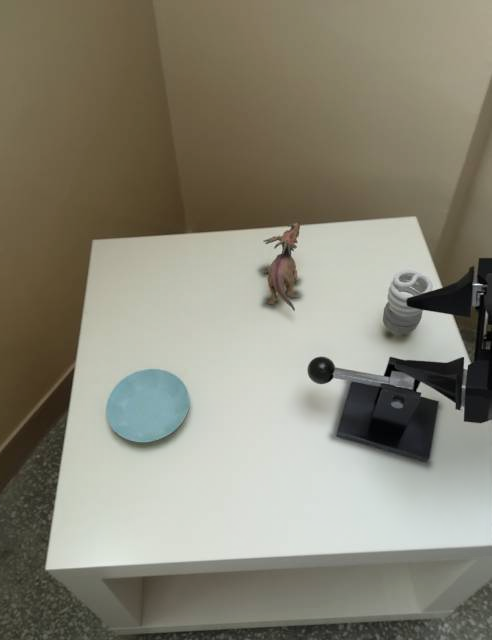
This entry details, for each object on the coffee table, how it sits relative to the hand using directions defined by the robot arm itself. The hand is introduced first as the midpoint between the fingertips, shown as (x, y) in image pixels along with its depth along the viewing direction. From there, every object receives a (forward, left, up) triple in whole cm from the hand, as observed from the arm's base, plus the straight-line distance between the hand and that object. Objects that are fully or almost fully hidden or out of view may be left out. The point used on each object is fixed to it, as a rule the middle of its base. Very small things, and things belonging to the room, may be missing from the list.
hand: (401, 332), depth 61 cm
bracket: (-2, +2, -17) cm, 17 cm away
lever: (+3, +2, -10) cm, 10 cm away
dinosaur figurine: (+19, -17, -17) cm, 31 cm away
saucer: (+30, +11, -17) cm, 36 cm away
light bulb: (0, -13, -17) cm, 22 cm away
